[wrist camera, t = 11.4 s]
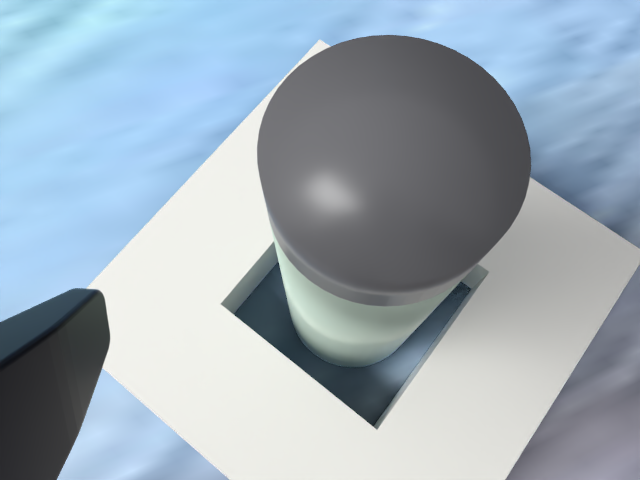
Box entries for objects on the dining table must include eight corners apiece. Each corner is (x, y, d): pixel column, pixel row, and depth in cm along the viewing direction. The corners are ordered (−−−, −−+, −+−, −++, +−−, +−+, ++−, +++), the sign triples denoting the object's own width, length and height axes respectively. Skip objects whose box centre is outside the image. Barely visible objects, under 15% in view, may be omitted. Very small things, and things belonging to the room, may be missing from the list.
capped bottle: (438, 294, 23) (581, 127, 10) (364, 394, 21) (428, 340, 9) (340, 222, 24) (365, -7, 11) (264, 314, 22) (200, 169, 10)
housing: (612, 271, 23) (646, 253, 21) (396, 610, 19) (407, 635, 17) (319, 75, 26) (319, 39, 24) (81, 335, 22) (52, 323, 20)
